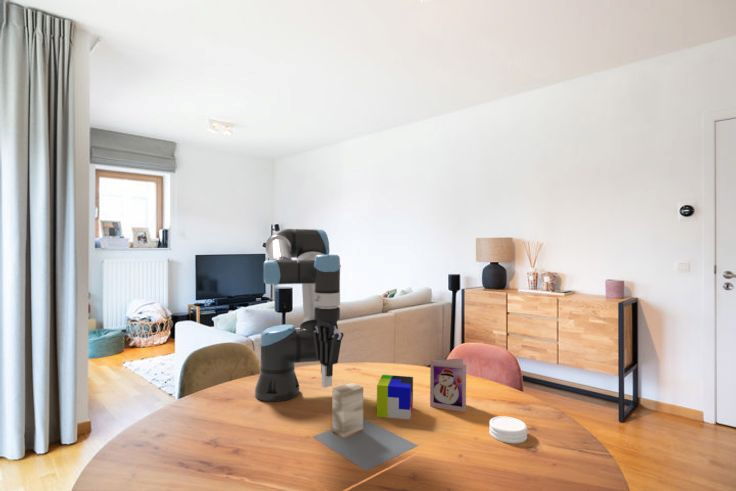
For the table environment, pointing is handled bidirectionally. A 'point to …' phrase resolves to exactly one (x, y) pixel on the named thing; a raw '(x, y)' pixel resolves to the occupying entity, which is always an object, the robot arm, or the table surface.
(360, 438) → the slate mat
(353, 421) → the birch block
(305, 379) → the table surface
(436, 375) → the greeting card
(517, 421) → the white round disc stack
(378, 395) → the puzzle toy
